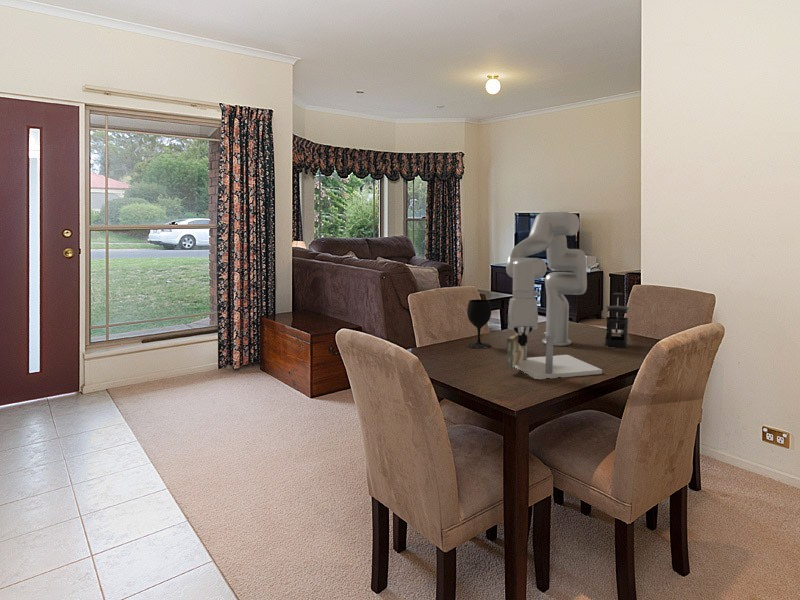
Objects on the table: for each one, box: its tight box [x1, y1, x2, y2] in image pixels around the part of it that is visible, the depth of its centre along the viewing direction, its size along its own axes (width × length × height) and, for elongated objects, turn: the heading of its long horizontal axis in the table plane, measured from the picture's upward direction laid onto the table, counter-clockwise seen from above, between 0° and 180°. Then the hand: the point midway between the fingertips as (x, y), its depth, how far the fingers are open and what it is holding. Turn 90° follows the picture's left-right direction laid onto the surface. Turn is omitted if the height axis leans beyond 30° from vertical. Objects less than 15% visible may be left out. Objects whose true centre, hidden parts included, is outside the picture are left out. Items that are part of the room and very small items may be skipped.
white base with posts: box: [513, 327, 603, 380], centre depth 203 cm, size 23×26×14 cm
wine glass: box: [466, 299, 492, 349], centre depth 240 cm, size 10×10×20 cm
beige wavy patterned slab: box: [506, 331, 524, 370], centre depth 203 cm, size 16×2×11 cm, turn 150°
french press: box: [603, 292, 630, 349], centre depth 238 cm, size 12×9×23 cm
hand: (522, 345), depth 198 cm, fingers closed
